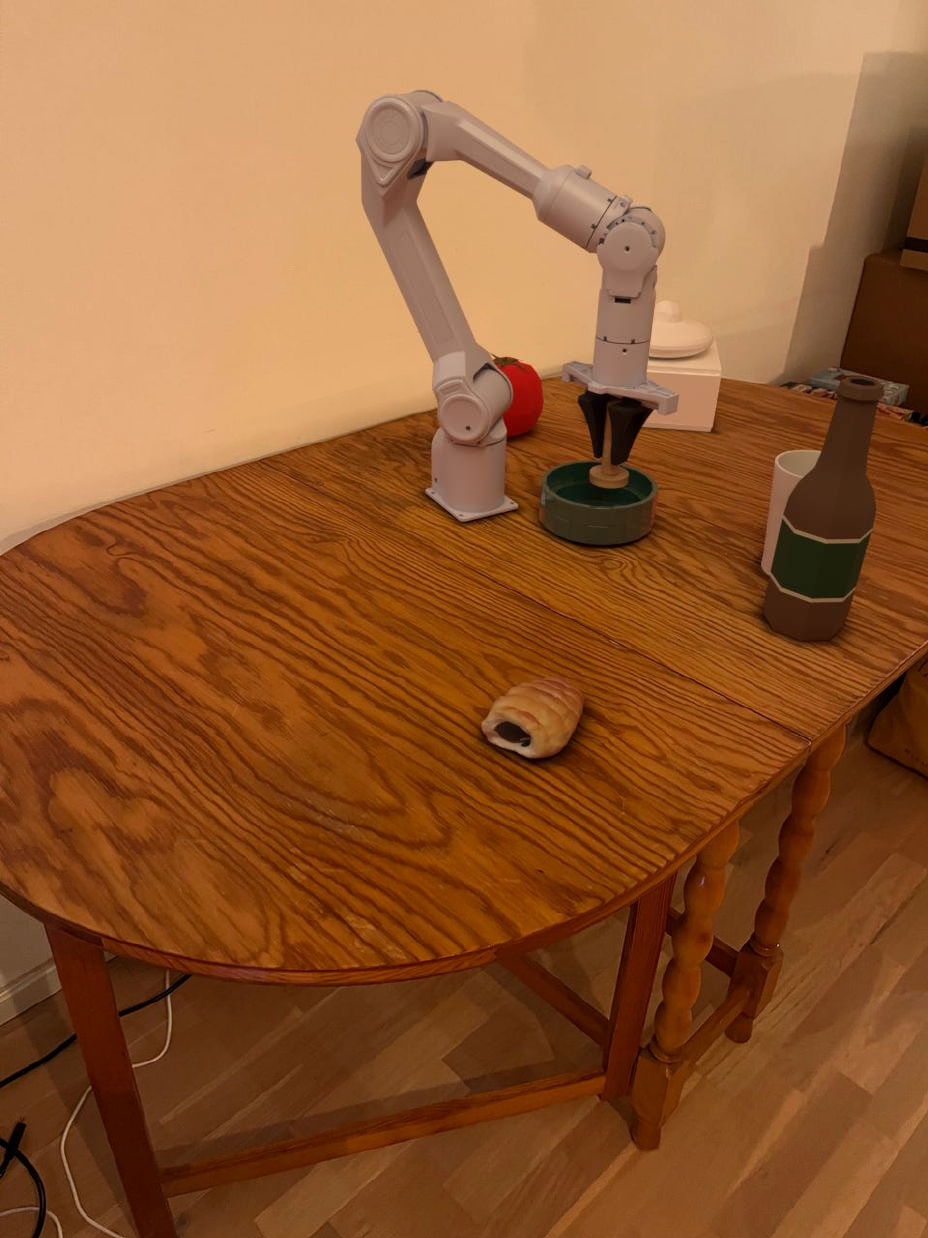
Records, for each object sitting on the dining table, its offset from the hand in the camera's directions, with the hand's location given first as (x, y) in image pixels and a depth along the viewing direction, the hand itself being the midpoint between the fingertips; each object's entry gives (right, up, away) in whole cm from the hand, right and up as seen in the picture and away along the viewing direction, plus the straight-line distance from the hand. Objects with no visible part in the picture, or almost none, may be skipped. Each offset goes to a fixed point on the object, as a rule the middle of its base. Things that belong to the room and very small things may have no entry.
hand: (610, 459), depth 102 cm
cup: (+19, -13, -4) cm, 23 cm away
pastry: (-11, -27, -27) cm, 40 cm away
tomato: (-11, +9, +29) cm, 32 cm away
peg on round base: (0, -2, +1) cm, 3 cm away
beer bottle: (+17, -18, -13) cm, 28 cm away
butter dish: (+12, +15, +38) cm, 43 cm away
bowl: (-1, -7, +5) cm, 8 cm away
